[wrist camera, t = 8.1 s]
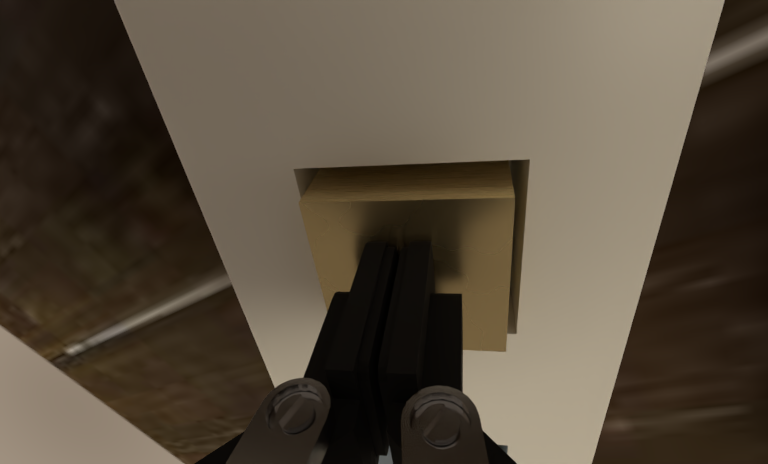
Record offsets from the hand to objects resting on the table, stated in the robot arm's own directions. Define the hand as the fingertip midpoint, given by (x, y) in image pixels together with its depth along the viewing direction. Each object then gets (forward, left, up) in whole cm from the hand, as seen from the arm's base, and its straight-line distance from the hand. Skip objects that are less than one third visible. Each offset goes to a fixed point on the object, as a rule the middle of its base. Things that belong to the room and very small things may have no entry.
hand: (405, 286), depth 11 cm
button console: (+6, 0, -7) cm, 9 cm away
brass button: (0, 0, -3) cm, 3 cm away
